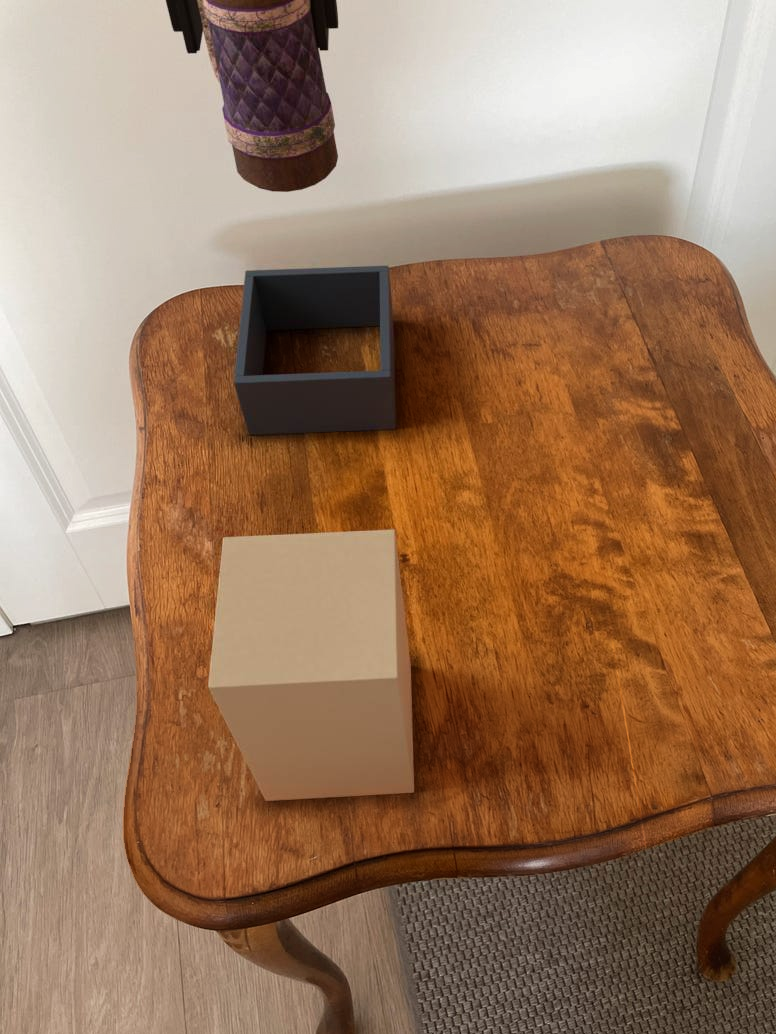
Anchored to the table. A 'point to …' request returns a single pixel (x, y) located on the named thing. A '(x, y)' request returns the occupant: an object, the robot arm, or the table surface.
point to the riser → (315, 663)
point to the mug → (271, 91)
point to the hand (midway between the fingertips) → (259, 39)
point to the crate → (315, 395)
